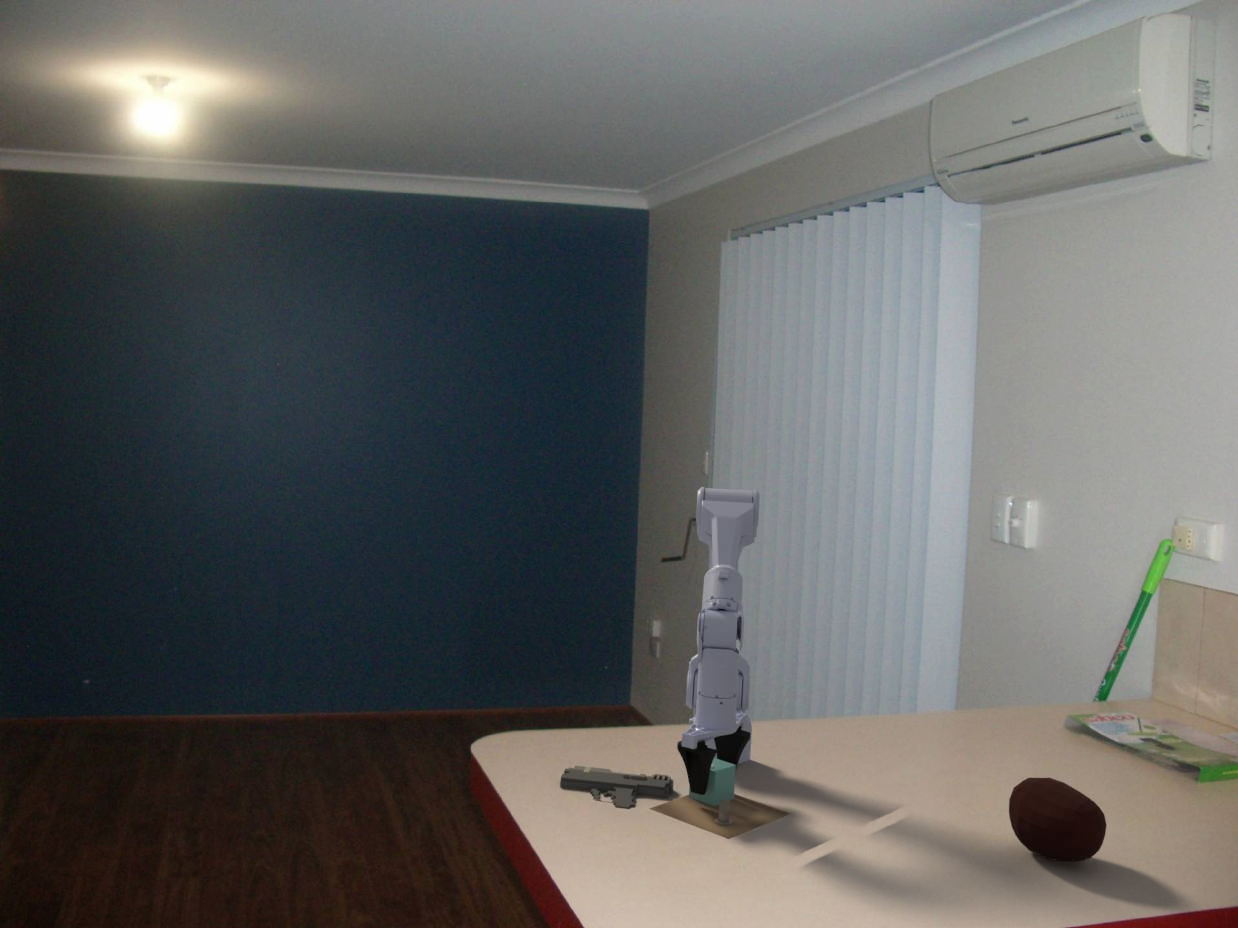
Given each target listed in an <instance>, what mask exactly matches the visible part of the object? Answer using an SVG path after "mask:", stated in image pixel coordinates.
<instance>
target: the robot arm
mask: <svg viewBox="0 0 1238 928" xmlns="http://www.w3.org/2000/svg"><path fill="white" fill-rule="evenodd" d="M696 496H697V497H696V509H695V510H696V513H695V519H696V520H695V523H696V534H697V536H698V539H697V540H698V541H700V542H702V543H704V544H706V545H708V548H709V551H710V555H711V568H710V569H709V570H708V571H707V572H706V573H705V574H704V578H703V586H702V587H703V589H702V601H701V602H702V603H701V612H699V613H698V616H697V625H696V626H697V627H696V645H697V653H696V654H695V655H694V656H692V657H691V659H690V661H688V671H687V678H686V690H685V691H686V693H685V694H686V695H685V705H686V706H687V707H688V709H692V714H693V717H691V718H689V719H688V724H689V725H690V726H689V727H688V729H687V730H685V731H683V732H682V733H681V740H679V741H678V742H677V746H676V748H677V751H678V753H679V755H680V756H681V758H682V761H683V764H684V767H685V770H686V775H687V779H688V783H689V784H688V785H689V786H690V790H691V792H693V793H696V794H700V795H704V794H705V793H706V790H707V786H708V779H709V772H710V768H711V765H712V762H713V759H714V758H716V759H719V760H722V761H725V762H728V763H731V764H734V765H736V771H737V769H738V765H739V764H742V763H745V762H748V761H751V749H752V734H753V733H752V731H753V725H752V721H751V719H750V717H749V715H748V713H747V712H746V711H747V710H749V705H750V687H751V684H750V683H751V675H750V668H751V666H750V665H749V661H747V659H746V658H744V657H743V656H742V655H741V654H740V653H741V652H742V649H743V644H744V643H743V642H744V627H745V616H744V610H743V608H744V607H743V604H742V603H743V586H744V585H743V584H744V578H743V575H742V574H741V573H740V572H739V570H738V569H739V561H740V560H739V559H740V557H741V555H742V552H743V550H744V548H745V547H747V546H751V545H753V544H754V543H755V538H756V537H757V533H758V527H759V518H760V516H759V515H760V501H761V500H760V499H761V497H760V496H761V494H760V492H759V491H758V490H757V489H753V490H748V489H747V490H746V489H745V490H744V489H732V488H731V489H727V488H712V487H710V488H708V487H705V486H701V487H700V488H699V489H698V490H697V495H696ZM737 641H739V649H738V648H737ZM736 771H735V773H736Z"/></svg>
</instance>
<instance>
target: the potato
mask: <svg viewBox="0 0 1238 928" xmlns="http://www.w3.org/2000/svg"><path fill="white" fill-rule="evenodd" d="M1008 803H1009V804H1008V814H1009V816H1008V817H1009V820H1010V825H1011V828H1012V830H1013V833H1014V835H1015V837H1016V838H1017V839H1018V841H1019V842H1020V843H1021V844H1022V845H1023V846H1024V847H1025V848H1026V849H1027V850H1028V851H1030V852H1032V853H1034V854H1036V855H1038V856H1039V857H1040V856H1041V857H1043V858H1045V859H1047V860H1051V861H1052V860H1053V861H1059V862H1073V863H1074V862H1075V863H1076V862H1082V861H1083V862H1084V861H1086V860H1089V859H1091V858H1093V857H1094V856H1095V855H1096V854H1097V853H1098V852H1099V851H1100V849H1101V848H1102V846H1103V843H1104V839H1105V837H1106V832H1107V821H1106V815H1105V813H1104V812H1103V810H1102V809H1101V807H1100V806H1099V805H1098V804H1097V803H1096V802H1095V801H1094V800H1092V799H1091V798H1090V797H1088V796H1087V795H1085V794H1084V793H1082V792H1081V791H1079V790H1077V789H1076V788H1074V787H1072V786H1071V785H1069V784H1068V783H1065V782H1064V781H1061V780H1057V779H1055V778H1052V777H1027V778H1025V779H1024V780H1022V781H1021V782H1019V783H1018V784H1016V786H1014V787H1013V790H1012V791H1011V795H1009V800H1008Z"/></svg>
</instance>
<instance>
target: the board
mask: <svg viewBox="0 0 1238 928" xmlns="http://www.w3.org/2000/svg"><path fill="white" fill-rule="evenodd" d="M649 810H651V811H654V812H657V813H660V814H662V815H664V816H667V817H671V818H673V819H674V820H678V821H681V822H683V823H686V824H688V825H690V826H694V827H696V828H698V829H701V830H704V831H706V832H709V833H712V834H715V835H717V836H719V837H723V838H725V839H728V840H730V839H731V838H733V837H737V836H739V835H741V834H743V833H747V832H749V831H751V830H754V829H757V828H758V827H762V826H764V825H767V824H769V823H771V822H773V821H776V820H779V819H781V818H784V817H785V816H789V815H791V814H792V813H791V812H788V811H785V810H783V809H780V808H776V807H773V806H770V805H768V804H765V803H762V802H759V801H757V800H753V799H751V798H747V797H745V796H742V795H738V794H737V793H734V799H732V800H730V801H729V800H727V799H721V800H720V802H719V805H716V806H712V805H709V804H706V803H703V802H700V801H698V800H695V799H692V798H689V794H687V795H684V796H682V797H678V798H676V799H672V800H669V801H667V802H664V803H661V804H659V805H658V804H657V805H655V806H652V807H650V808H649Z"/></svg>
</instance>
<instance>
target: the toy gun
mask: <svg viewBox="0 0 1238 928" xmlns="http://www.w3.org/2000/svg"><path fill="white" fill-rule="evenodd" d="M563 772H564V773H562V775H561V777H560V782H559V785H560V786H559V787H560V788H564V789H573V790H582V791H589V792H590V794H591V797H592V800H594V801H596V802H602V803H603V802H604V803H606V800H605V801H603V800H602V799H600V798H601V794H600V793H603V797H610V800H612V801H608V803H609V804H613V805H614V807H615V808H620V809H628V810H629V809H630V808H634V807H637V806H638V805H637V804H636V803H637V799H636V797H639V796H643V797H649V798H650V797H652V798H660V799H667V798H668V796H669V794H670V793H673V791H674V779H672V778H671V776H669V774H668V775H667V774H659V773H654V774H651V775H647V774H645V773H640V774H633V773H624V772H616V771H615V772H614V771H612V770H611V769H610V768H602V767H594V766H593V767H592V766H584V765H574V767H568V768H565V769H564V771H563Z"/></svg>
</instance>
